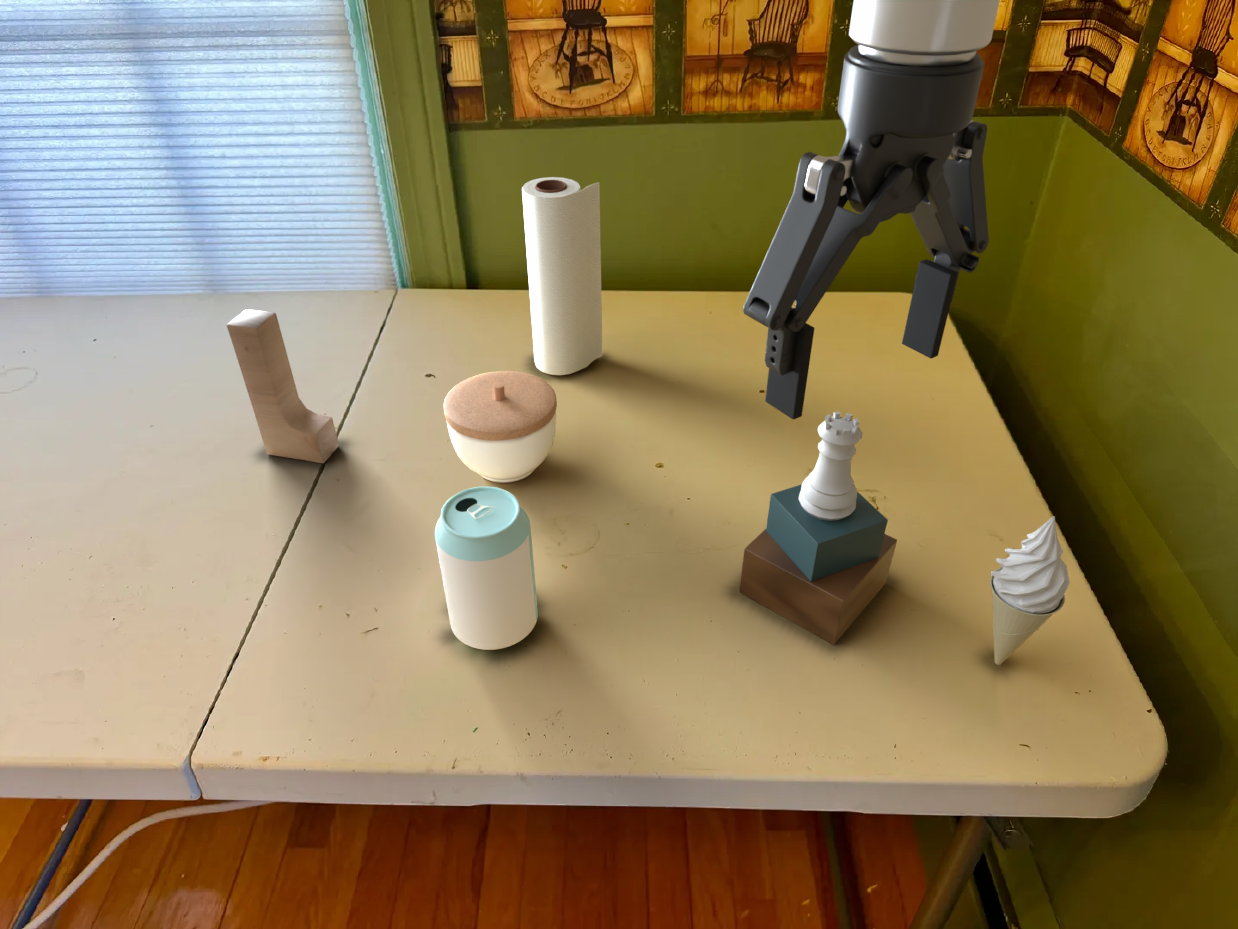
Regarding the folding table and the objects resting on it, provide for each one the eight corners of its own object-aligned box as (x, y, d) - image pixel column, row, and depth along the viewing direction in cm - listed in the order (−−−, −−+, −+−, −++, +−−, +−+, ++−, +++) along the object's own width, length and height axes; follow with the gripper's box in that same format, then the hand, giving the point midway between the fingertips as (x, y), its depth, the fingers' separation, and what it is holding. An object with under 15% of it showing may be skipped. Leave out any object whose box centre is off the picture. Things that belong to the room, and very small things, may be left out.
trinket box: (439, 493, 84) (426, 413, 78) (468, 429, 92) (457, 352, 87) (549, 502, 83) (544, 421, 77) (567, 436, 91) (564, 359, 86)
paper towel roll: (526, 371, 102) (511, 191, 89) (547, 346, 106) (536, 171, 93) (583, 383, 100) (576, 200, 87) (602, 357, 104) (599, 179, 91)
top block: (878, 557, 70) (888, 519, 67) (810, 582, 67) (817, 544, 65) (830, 509, 74) (837, 472, 72) (765, 531, 72) (770, 493, 70)
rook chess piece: (851, 488, 70) (868, 405, 65) (859, 525, 67) (877, 440, 62) (795, 485, 71) (808, 402, 66) (799, 522, 67) (813, 437, 62)
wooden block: (266, 454, 89) (224, 324, 80) (283, 436, 91) (245, 307, 82) (323, 464, 88) (289, 332, 78) (340, 445, 90) (308, 315, 81)
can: (443, 654, 68) (421, 541, 61) (460, 589, 74) (442, 478, 67) (532, 657, 68) (521, 544, 61) (543, 591, 74) (534, 481, 66)
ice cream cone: (960, 633, 70) (1010, 488, 61) (1027, 643, 69) (1088, 497, 60) (966, 683, 66) (1022, 535, 57) (1037, 694, 65) (1105, 546, 56)
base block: (886, 582, 74) (897, 539, 71) (833, 645, 69) (843, 601, 66) (794, 537, 79) (801, 494, 76) (739, 592, 74) (743, 548, 70)
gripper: (998, 12, 56) (929, 309, 69) (696, 66, 45) (680, 410, 58) (1107, 31, 51) (1011, 348, 64) (798, 98, 40) (757, 466, 53)
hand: (854, 378), depth 61 cm, fingers open, 13 cm apart
